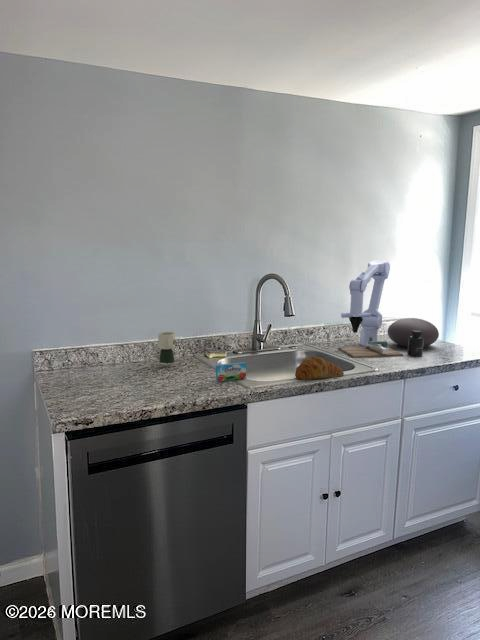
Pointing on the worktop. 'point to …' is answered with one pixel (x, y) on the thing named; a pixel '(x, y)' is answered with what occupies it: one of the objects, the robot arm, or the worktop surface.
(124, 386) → the worktop surface
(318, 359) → the pastry
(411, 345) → the supplement bottle
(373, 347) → the link
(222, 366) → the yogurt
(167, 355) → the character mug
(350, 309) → the robot arm
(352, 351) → the board
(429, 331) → the smooth stone
